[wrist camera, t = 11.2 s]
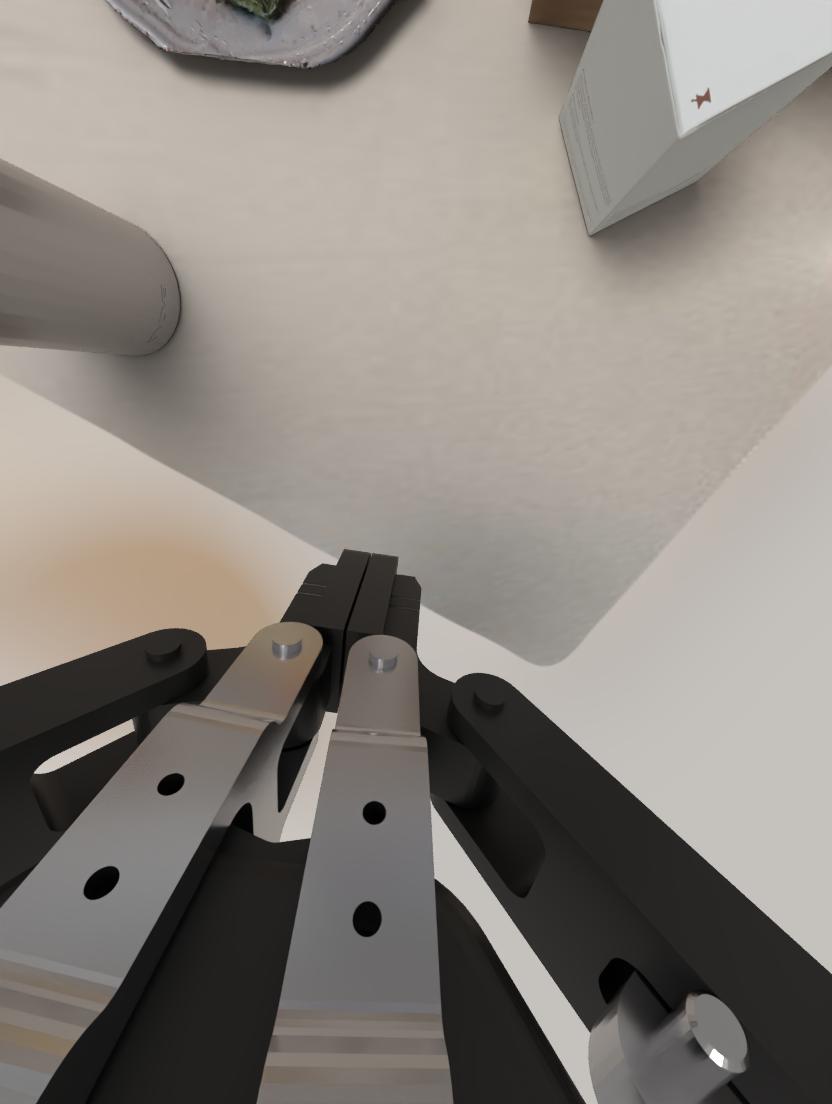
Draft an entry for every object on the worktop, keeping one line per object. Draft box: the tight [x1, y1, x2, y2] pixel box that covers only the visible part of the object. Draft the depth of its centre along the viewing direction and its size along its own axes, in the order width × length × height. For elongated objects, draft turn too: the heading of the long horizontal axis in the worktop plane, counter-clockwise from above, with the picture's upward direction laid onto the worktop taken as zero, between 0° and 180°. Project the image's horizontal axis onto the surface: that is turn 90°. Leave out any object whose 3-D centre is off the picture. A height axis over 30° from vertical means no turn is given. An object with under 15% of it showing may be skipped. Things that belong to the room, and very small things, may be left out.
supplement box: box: [559, 0, 832, 235], centre depth 21 cm, size 7×7×13 cm
